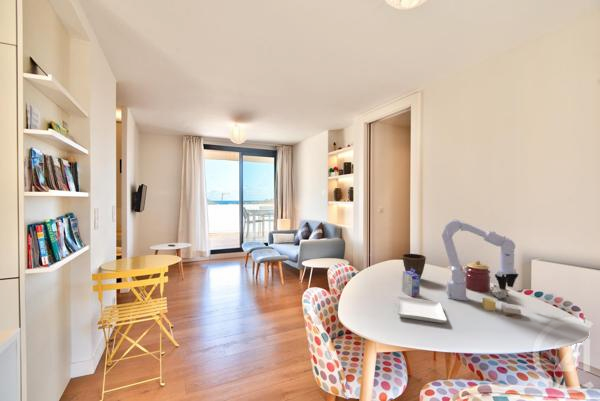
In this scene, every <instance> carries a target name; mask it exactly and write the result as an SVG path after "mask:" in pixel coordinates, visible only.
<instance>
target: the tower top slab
mask: <svg viewBox="0 0 600 401" xmlns="http://www.w3.org/2000/svg"><path fill="white" fill-rule="evenodd" d="M500 304H501V306H500V307H501V308H502V309H503V310H504V311H505V312H507V313H513V314H520V315H521V316H522V312H521V311H522V309H520V307H519V306H518V305H517V304H511V303H505V302H501V303H500Z"/></svg>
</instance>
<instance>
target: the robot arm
mask: <svg viewBox="0 0 600 401" xmlns="http://www.w3.org/2000/svg"><path fill="white" fill-rule="evenodd" d="M458 231H460V232H465V231H467V232H469V233H472V234H474V235H477V236H479V237H482V238H483V241H485V242H487V243H490V244H492V245H493V246H496V247H500V253H499V269H498V271H496V274H494V277H495V278H496V280H497V283H498V284H497V285H499V287H500V289H503V290H505V288H506V287H509V288H514V284H515V282H516V279H517V278H518V277H519V273H517V269H516V268H515V249H516V244H515V242H514V241H513V240H512V239H510V238H509V237H506V236H502V235H500V234H498V233H496V232H495V231H494V230H492V231H489V230H488V231H485V230H482V229H480V228H478V227H477V226H474V225H471V224H470V223H467V222H465V221H461V220H459V219H454V218H453V219H451V220H449V222H448V223H447V224H445V227H444V229H443V232H442V234H441V238H442V242H443V245H444V247H445V251H446V254H447V257H448V260H449V264H450V268H451V280H447V281H446V296H447V298H448V299H451V300H458V301H465V302H468V301H469V299H468V297H467V288H466V281H465V276H466V270H464V269H463V268H462V265H461V263H460V259H459V256H458V252H457V250H456V246H455V243H454V240H453V236H454V234H456V233H457V232H458ZM506 289H507V288H506Z"/></svg>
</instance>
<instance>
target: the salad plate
mask: <svg viewBox="0 0 600 401" xmlns="http://www.w3.org/2000/svg"><path fill="white" fill-rule="evenodd" d="M396 301H397V302H396V304H397V305H396V306H397V307H396V314H397V315H398V316H399V317H402V318H405V319H410V318H411V319H412V320H417V321H423V322H424V321H426V322H432V323H440V324H441V323H443V324H444V323H446V322H447V321H448V318H447V316H446V314H445V312H444V309H443V306H442V304H441V302H439V301H435V300H428V299H421V298H414V297H405V296H397V297H396Z"/></svg>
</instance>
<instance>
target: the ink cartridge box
mask: <svg viewBox="0 0 600 401" xmlns="http://www.w3.org/2000/svg"><path fill="white" fill-rule="evenodd" d="M411 270H413V271H414V272H415V270H414V269H412V268H411ZM411 270H410V271H404V270H403V271H402V275H401V279H402V281H401V282H402V283H401V292H403V293H405V294H406V295H408V296H410V298H414V297H420V292H421V291H420V289H421V287H420V286H421V284H420V283H421V278H420V275H417V274H415V273H414V272H412V271H411Z"/></svg>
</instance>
